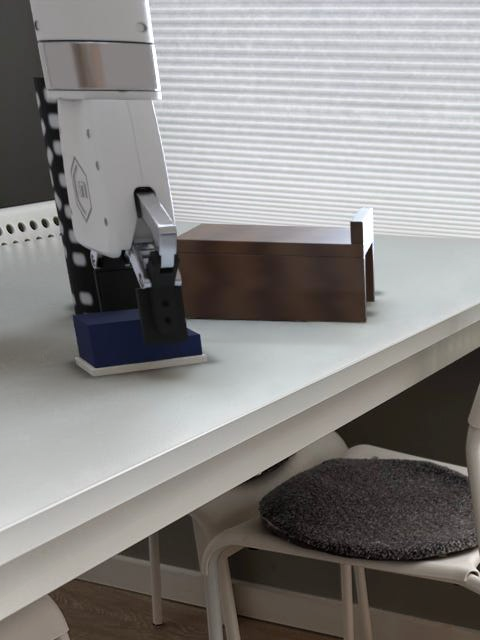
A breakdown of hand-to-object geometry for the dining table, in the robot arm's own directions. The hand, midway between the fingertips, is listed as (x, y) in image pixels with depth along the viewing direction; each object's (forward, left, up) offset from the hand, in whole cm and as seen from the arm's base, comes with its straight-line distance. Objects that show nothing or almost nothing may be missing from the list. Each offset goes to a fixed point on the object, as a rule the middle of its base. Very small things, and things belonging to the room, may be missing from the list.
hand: (144, 331), depth 74 cm
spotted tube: (-9, +21, -3) cm, 23 cm away
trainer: (-1, 0, -3) cm, 3 cm away
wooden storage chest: (+6, +26, -3) cm, 27 cm away
